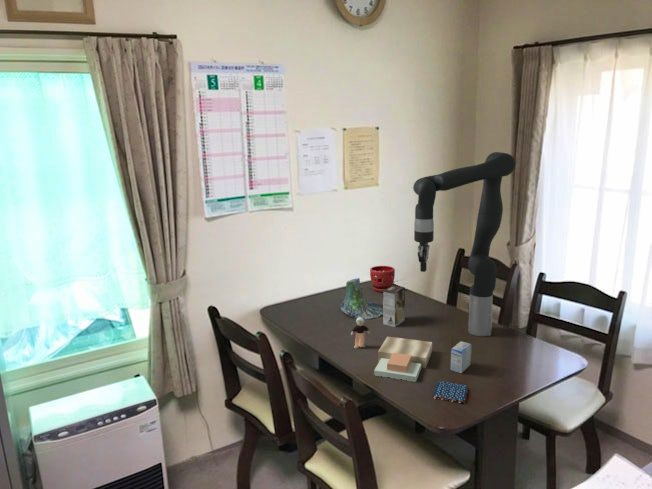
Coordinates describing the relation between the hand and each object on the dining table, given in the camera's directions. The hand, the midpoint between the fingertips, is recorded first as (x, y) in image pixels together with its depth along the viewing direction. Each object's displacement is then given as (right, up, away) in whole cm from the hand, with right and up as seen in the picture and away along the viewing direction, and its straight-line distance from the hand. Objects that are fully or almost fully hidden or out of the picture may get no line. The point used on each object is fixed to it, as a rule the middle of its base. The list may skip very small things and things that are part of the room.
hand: (423, 271), depth 200 cm
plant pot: (-9, -14, +67) cm, 69 cm away
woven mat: (+2, -39, -36) cm, 53 cm away
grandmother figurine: (-25, -31, 0) cm, 40 cm away
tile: (-13, -33, -20) cm, 41 cm away
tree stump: (-23, -22, +37) cm, 48 cm away
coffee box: (-9, -25, +23) cm, 35 cm away
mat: (-13, -35, -21) cm, 43 cm away
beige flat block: (-9, -32, -9) cm, 35 cm away
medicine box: (+10, -35, -19) cm, 41 cm away
